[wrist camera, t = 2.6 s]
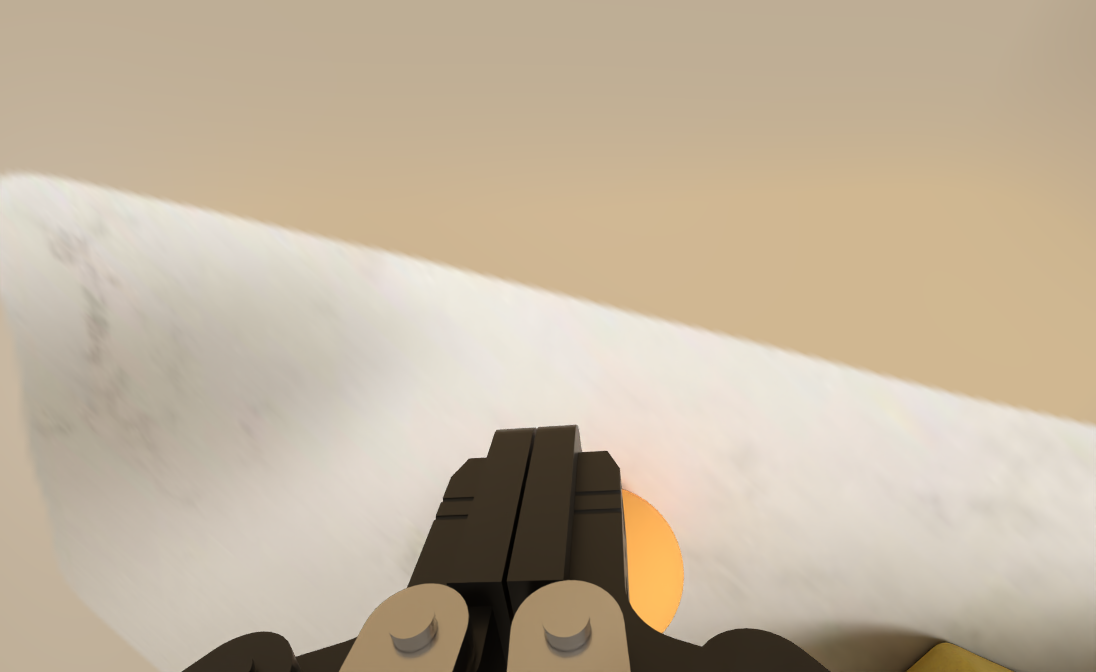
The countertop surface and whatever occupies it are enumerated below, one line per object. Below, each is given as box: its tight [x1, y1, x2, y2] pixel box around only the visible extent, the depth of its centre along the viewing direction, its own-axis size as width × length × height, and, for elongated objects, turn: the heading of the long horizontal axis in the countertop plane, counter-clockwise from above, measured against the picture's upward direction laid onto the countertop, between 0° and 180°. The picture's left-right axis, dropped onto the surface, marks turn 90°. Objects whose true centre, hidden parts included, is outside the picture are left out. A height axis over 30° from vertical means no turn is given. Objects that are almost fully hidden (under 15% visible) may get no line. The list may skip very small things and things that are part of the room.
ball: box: [622, 489, 684, 633], centre depth 21 cm, size 6×6×6 cm
